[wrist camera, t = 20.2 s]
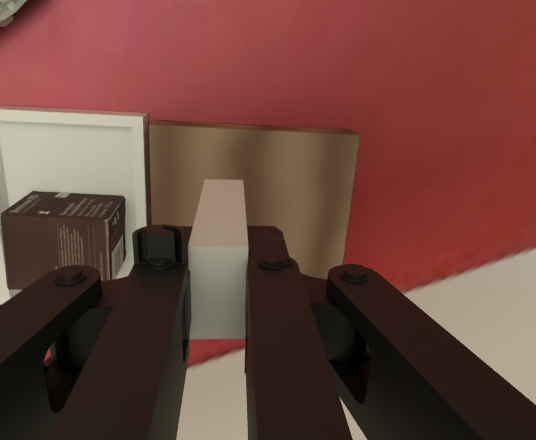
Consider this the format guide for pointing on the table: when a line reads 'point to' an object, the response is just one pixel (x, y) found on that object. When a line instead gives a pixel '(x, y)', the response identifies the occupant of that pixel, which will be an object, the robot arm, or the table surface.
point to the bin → (75, 162)
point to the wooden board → (261, 180)
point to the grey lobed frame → (9, 10)
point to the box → (62, 235)
